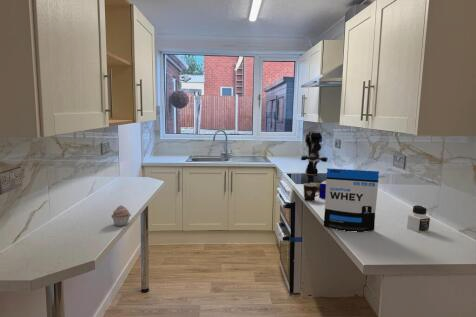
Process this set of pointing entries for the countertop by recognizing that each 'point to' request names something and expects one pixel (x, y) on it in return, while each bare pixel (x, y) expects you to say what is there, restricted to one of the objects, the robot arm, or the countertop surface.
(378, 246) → the countertop surface
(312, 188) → the coffee mug
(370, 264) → the countertop surface
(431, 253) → the countertop surface
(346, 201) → the protein powder
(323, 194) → the puzzle cube
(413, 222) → the medicine bottle
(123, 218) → the cupcake
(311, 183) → the trap box
